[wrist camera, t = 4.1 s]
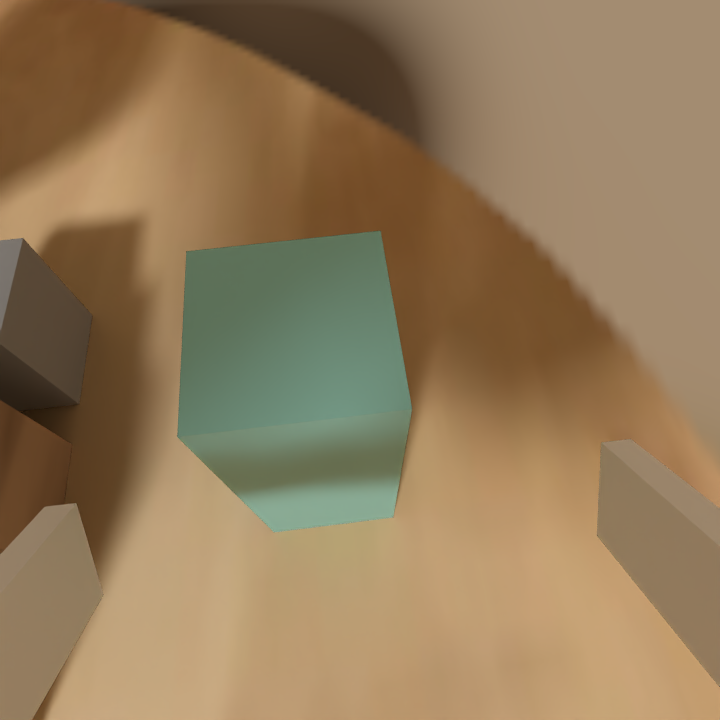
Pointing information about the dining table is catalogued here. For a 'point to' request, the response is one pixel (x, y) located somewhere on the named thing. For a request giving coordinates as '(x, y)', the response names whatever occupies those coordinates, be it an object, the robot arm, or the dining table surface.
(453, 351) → the dining table surface
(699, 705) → the dining table surface
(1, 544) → the walnut block
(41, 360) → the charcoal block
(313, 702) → the dining table surface
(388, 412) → the teal block
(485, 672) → the dining table surface
